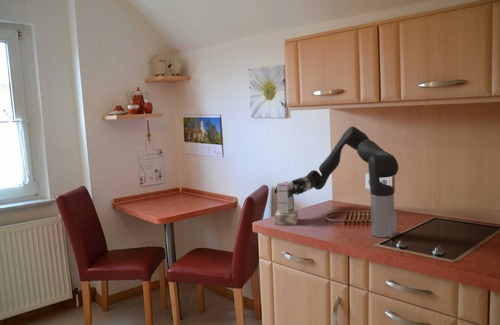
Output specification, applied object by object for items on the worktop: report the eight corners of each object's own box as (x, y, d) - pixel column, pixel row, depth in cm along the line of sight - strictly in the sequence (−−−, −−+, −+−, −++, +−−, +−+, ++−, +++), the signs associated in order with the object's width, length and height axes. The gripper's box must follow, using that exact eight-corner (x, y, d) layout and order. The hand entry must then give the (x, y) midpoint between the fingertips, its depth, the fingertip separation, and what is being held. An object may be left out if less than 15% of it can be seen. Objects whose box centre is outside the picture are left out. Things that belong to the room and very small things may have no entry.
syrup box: (288, 213, 210) (287, 183, 209) (277, 212, 214) (276, 182, 212) (294, 211, 215) (293, 181, 214) (283, 210, 218) (282, 181, 217)
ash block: (298, 219, 219) (297, 209, 218) (295, 225, 209) (295, 215, 208) (277, 219, 221) (277, 210, 220) (274, 225, 211) (274, 215, 210)
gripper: (287, 177, 228) (270, 183, 215) (312, 178, 219) (295, 185, 207) (288, 192, 229) (270, 198, 216) (313, 193, 220) (296, 200, 208)
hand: (282, 192), depth 211 cm, fingers open, 8 cm apart
